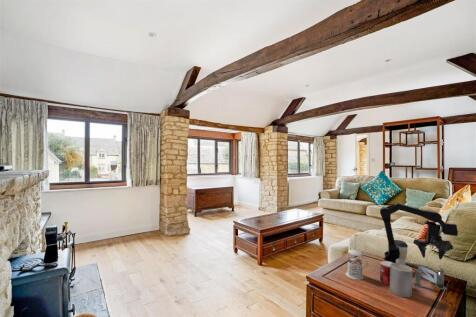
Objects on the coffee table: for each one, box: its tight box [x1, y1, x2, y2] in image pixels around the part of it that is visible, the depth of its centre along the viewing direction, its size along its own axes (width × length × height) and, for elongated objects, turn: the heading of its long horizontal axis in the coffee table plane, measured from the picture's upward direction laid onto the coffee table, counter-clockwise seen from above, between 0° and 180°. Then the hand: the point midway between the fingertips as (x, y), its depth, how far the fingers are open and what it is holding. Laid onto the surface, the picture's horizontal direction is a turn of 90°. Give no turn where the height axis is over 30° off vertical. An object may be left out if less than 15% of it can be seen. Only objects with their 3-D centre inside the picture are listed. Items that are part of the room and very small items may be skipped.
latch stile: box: [412, 268, 423, 288], centre depth 131 cm, size 4×3×8 cm
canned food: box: [379, 260, 392, 287], centre depth 133 cm, size 8×8×11 cm
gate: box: [417, 264, 438, 285], centre depth 137 cm, size 11×1×6 cm, turn 12°
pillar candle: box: [389, 263, 413, 298], centre depth 123 cm, size 10×10×15 cm
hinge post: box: [433, 268, 448, 291], centre depth 129 cm, size 4×4×11 cm
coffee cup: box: [394, 239, 409, 265], centre depth 160 cm, size 9×9×15 cm
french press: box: [345, 233, 369, 280], centre depth 140 cm, size 10×12×25 cm
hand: (431, 258), depth 140 cm, fingers open, 9 cm apart
